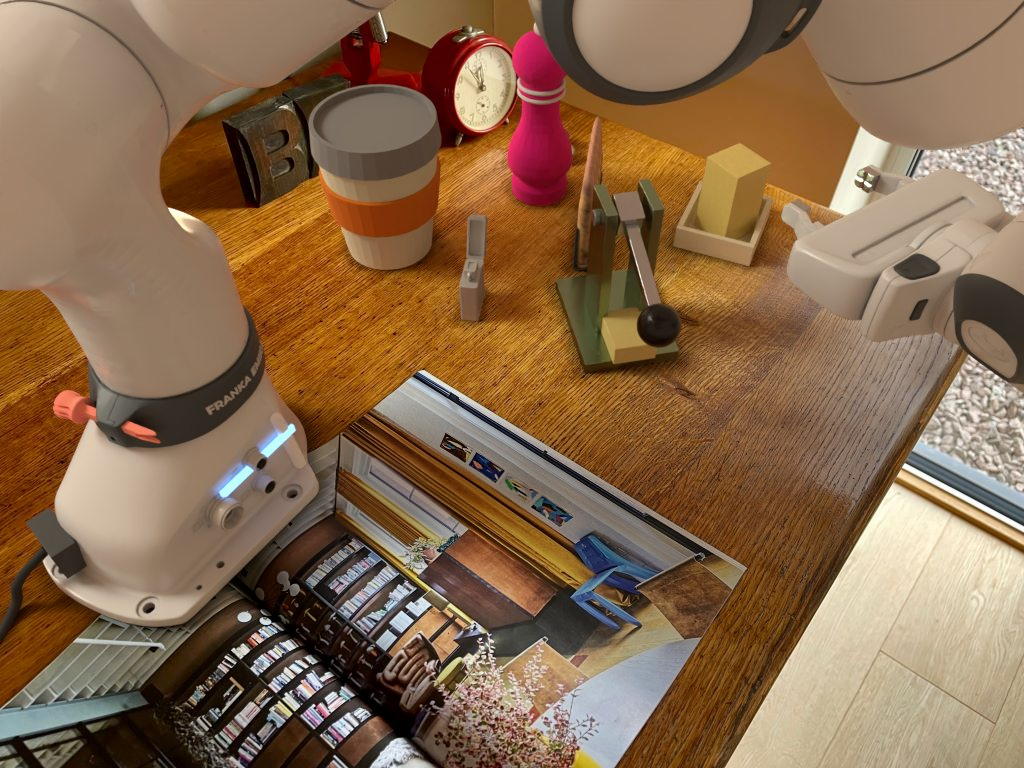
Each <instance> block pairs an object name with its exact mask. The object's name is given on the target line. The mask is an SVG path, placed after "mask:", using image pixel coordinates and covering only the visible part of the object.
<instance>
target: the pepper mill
mask: <svg viewBox="0 0 1024 768" xmlns="http://www.w3.org/2000/svg"><path fill="white" fill-rule="evenodd" d="M511 61H512V63H511V64H512V68H513V71H514V73H515V74H516V75H517V77H518V78H517V81H516V85H517V88H516V94H517V95H518V97H519V98H520V99H521V116H520V119H519V120H520V121H519V123H518V125H517V126H516V128H515V131H514V133H512V137H511V139H510V142H509V145H508V147H507V155H506V161H507V166H508V167H509V170H510V171H511V173H512V175H511V192H512V195H513V196H514V197H515V199H516V200H517V201H519V202H520V203H523V204H525V205H528V206H533V207H546V206H551V205H553V204H556V203H558V202H560V201H561V200H563V198H564V197H565V195H566V193H567V189H568V175H567V174H568V172H570V169H571V167H572V165H573V161H574V159H573V158H574V157H573V158H572V147H571V145H572V144H571V141H570V136H569V137H568V135H567V133H566V131H565V129H566V128H565V127H564V124H563V122H562V118H561V108H560V107H561V100H562V99H563V98H564V97H565V95H566V92H567V90H566V85H567V80H566V76H568V75H567V74H566V73H565V72H564V71H563V69H562V68H561V67H560V66H559V65H558V63H557V62H556V61H555V59H554V58H553V56H552V55H551V53H550V51H549V50H548V48H547V46H546V45H545V43H544V41H543V39H542V37H541V35H540V33H539V30H538V28H537V25H536V23H535V22H534V23H533V30H531V31H528V32H526V33H524V34H523V35H522V36H521V37H520V38H519V39H517V41H516V43H515V45H514V47H513V50H512V57H511ZM564 128H565V129H564Z"/></svg>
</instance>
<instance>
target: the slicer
mask: <svg viewBox="0 0 1024 768" xmlns="http://www.w3.org/2000/svg"><path fill="white" fill-rule="evenodd" d="M637 181H638V182H637V189H636V191H638V195H639V198H640V201H641V205H642V208H643V211H644V215H645V220H644V223H643V226H642V229H641V232H640V233H641V236H642V240H643V243H644V247H645V250H646V253H647V257H648V260H649V264H650V267H651V270H652V274H653V277H654V278H655V273H656V269H657V268H656V267H657V260H658V256H659V255H658V254H659V249H660V241H661V236H662V228H663V222H664V218H665V217H664V215H665V206H664V204H663V203H662V201H661V199H660V196H659V195H658V192H657V191H656V189H655V188H654V185H653V183H652V181H651V179H650V178H643V179H638V180H637ZM617 223H618V213H617V210H616V208H615V206H614V204H613V202H612V196H611V195H610V193H609V191H608V189H607V187H606V184H605V183H602V184H601V185H594V188H593V201H592V211H591V226H590V239H589V251H588V264H587V271H586V274H584V275H576V276H569V277H563V278H561V277H560V278H555V285H554V286H555V291H556V294H557V296H558V297H557V298H558V301H559V302H560V305H561V309H562V311H563V314H564V317H565V320H566V324H567V326H568V328H569V333H570V335H571V337H572V340H573V344H574V347H575V349H576V352H577V355H578V358H579V361H580V363H581V364H580V365H581V367H582V371H583V372H584V374H588V373H589V374H590V373H595V372H596V373H597V372H601V371H610V370H617V369H622V368H629V367H635V366H642V365H649V364H656V363H663V362H668V361H676V360H678V359H679V355H680V348H679V346H678V344H677V342H676V340H675V341H674V342H673V343H672V344H670V345H669V346H666V347H662V348H657V350H656V355H655V358H652V359H645V360H638V361H632V362H625V363H618V364H613V362H612V359H611V356H610V354H609V351H608V348H607V346H606V343H605V340H604V338H603V335H602V333H601V327H602V317H604V316H608V311H612V310H619V309H626V308H633V307H637V308H638V311H643V310H644V309H645V305H644V301H643V298H642V294H641V291H640V287H639V284H638V280H637V277H636V273H635V270H634V266H633V263H632V259H631V256H630V252H629V251H628V252H629V253H628V260H627V268H626V269H620V270H613V267H614V260H615V250H616V241H617V240H616V239H617V236H616V233H617Z"/></svg>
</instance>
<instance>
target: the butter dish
mask: <svg viewBox="0 0 1024 768" xmlns="http://www.w3.org/2000/svg"><path fill="white" fill-rule="evenodd" d="M702 183H703V180H699V182H698V184H697V186H696V187H695V189H694V191H693V193H692V195H691V197H690V200H689V201H688V204H687V205H686V207H685V210H684V211H683V214H682V215H681V217H680V219H679V221H678V223H677V225H676V227H675V233H674V238H673V244H672V246H673V247H674V248H678V249H682V250H685V251H690V252H694V253H697V254H700V255H705V256H709V257H712V258H716V259H718V260H719V259H720V260H724V261H728V262H731V263H735V264H738V265H741V266H747V267H750V265H751V263H752V261H753V258H754V255H755V252H756V251H757V248H758V245H759V242H760V240H761V238H762V236H763V233H764V230H765V227H766V225H767V222H768V220H769V218H770V213H771V209H772V206H773V203H774V197H772V196H769V195H768V196H767V195H764V194H763V198H762V202H761V206H760V210H759V213H758V217H757V221H756V225H755V229H754V231H753V232H751V233H749V234H747V235H745V236H743V237H741V238H739V239H737V240H735V239H731V238H728V237H724V236H720V235H716V234H712V233H708V232H704V231H703V230H702V229H700V228H699V227H698V226H696V225H695V219H696V214H697V209H698V203H699V198H700V193H701V188H702Z"/></svg>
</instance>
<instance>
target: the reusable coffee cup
mask: <svg viewBox="0 0 1024 768" xmlns="http://www.w3.org/2000/svg"><path fill="white" fill-rule="evenodd" d="M308 131H309V144H310V153H311V156H312V158H313V160H314V162H315V163H316V164H317V165H318V167H319V170H318V178H319V182H320V186H321V188H322V191H323V194H324V196H325V199H326V203H327V204H328V208H329V211H330V214H331V215H332V218H333V220H334V221H335V222H336V223H337V224H338V225H339V226H340V230H341V232H342V234H343V238H344V240H345V244H346V246H347V249H348V251H349V254H350V256H351V257H352V258H353V259H354V260H355V261H356V263H359V264H360V265H362V266H365V267H366V268H369V269H372V270H373V269H374V270H382V271H392V270H399V269H403V268H407V267H410V266H412V265H414V264H416V263H418V262H419V261H421V260H422V259H423V258H425V257H426V255H427V254H428V253H429V252H430V250H431V247H432V244H433V231H434V215H435V214H436V212H437V210H438V207H439V201H440V200H439V199H440V182H441V170H442V169H441V167H442V163H441V159H440V157H439V155H438V153H439V151H440V149H441V147H442V146H441V145H442V133H441V128H440V123H439V119H438V113H437V110H436V107H435V105H434V103H433V102H432V100H431V99H429V98H428V97H427V96H426V95H424V94H423V93H421V92H419V91H418V90H415V89H412V88H409V87H406V86H402V85H396V84H385V83H384V84H383V83H378V84H377V83H376V84H374V83H372V84H363V85H357V86H352V87H349V88H345V89H342V90H340V91H336V92H335V93H333V94H331V95H328V96H327V97H326V98H324V99H323V100H321V101H320V102H319V103H318V104H316V106H315V107H314V108H313V109H312V111H311V113H309V117H308Z"/></svg>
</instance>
